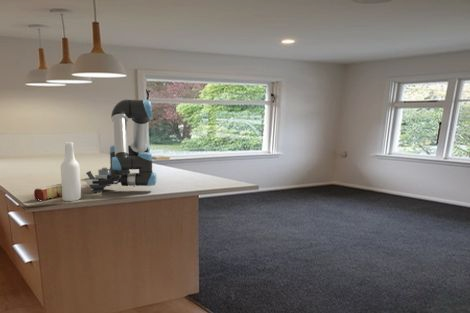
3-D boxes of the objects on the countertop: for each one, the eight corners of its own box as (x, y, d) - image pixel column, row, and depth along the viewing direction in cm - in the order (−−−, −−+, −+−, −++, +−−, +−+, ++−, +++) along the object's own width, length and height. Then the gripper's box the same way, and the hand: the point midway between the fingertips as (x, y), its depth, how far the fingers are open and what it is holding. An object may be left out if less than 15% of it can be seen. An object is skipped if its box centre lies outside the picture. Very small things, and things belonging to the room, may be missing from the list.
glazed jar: (97, 185, 210) (96, 167, 209) (108, 183, 215) (107, 166, 213) (101, 187, 205) (101, 169, 204) (112, 185, 210) (112, 168, 208)
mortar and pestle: (109, 189, 199) (108, 169, 197) (105, 193, 190) (104, 172, 188) (89, 189, 198) (88, 169, 196) (84, 193, 188) (83, 172, 187)
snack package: (67, 192, 192) (66, 180, 192) (76, 193, 190) (75, 181, 189) (33, 200, 173) (32, 188, 172) (43, 202, 170) (42, 189, 169)
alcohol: (83, 197, 180) (80, 141, 176) (78, 201, 171) (75, 143, 168) (65, 197, 178) (62, 141, 175) (60, 202, 170) (56, 143, 166)
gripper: (123, 190, 182) (83, 190, 181) (134, 181, 207) (99, 181, 205) (123, 177, 181) (82, 177, 180) (133, 169, 206) (98, 169, 204)
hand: (91, 179), depth 193 cm, fingers open, 13 cm apart
